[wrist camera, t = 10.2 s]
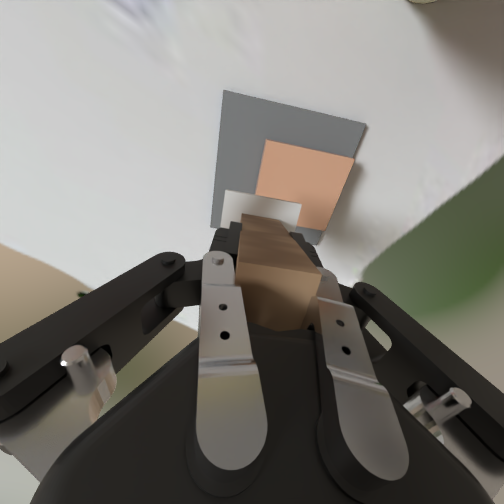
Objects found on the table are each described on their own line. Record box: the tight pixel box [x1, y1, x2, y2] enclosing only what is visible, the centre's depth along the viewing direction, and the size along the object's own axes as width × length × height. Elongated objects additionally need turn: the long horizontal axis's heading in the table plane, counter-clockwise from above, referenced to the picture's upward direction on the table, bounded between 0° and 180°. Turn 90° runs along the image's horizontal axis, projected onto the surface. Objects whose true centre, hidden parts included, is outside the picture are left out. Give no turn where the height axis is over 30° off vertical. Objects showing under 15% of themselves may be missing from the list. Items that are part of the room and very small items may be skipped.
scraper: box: [220, 189, 322, 331], centre depth 13 cm, size 6×6×11 cm
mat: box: [210, 90, 366, 245], centre depth 27 cm, size 16×16×1 cm
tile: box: [255, 139, 355, 231], centre depth 26 cm, size 2×9×10 cm
